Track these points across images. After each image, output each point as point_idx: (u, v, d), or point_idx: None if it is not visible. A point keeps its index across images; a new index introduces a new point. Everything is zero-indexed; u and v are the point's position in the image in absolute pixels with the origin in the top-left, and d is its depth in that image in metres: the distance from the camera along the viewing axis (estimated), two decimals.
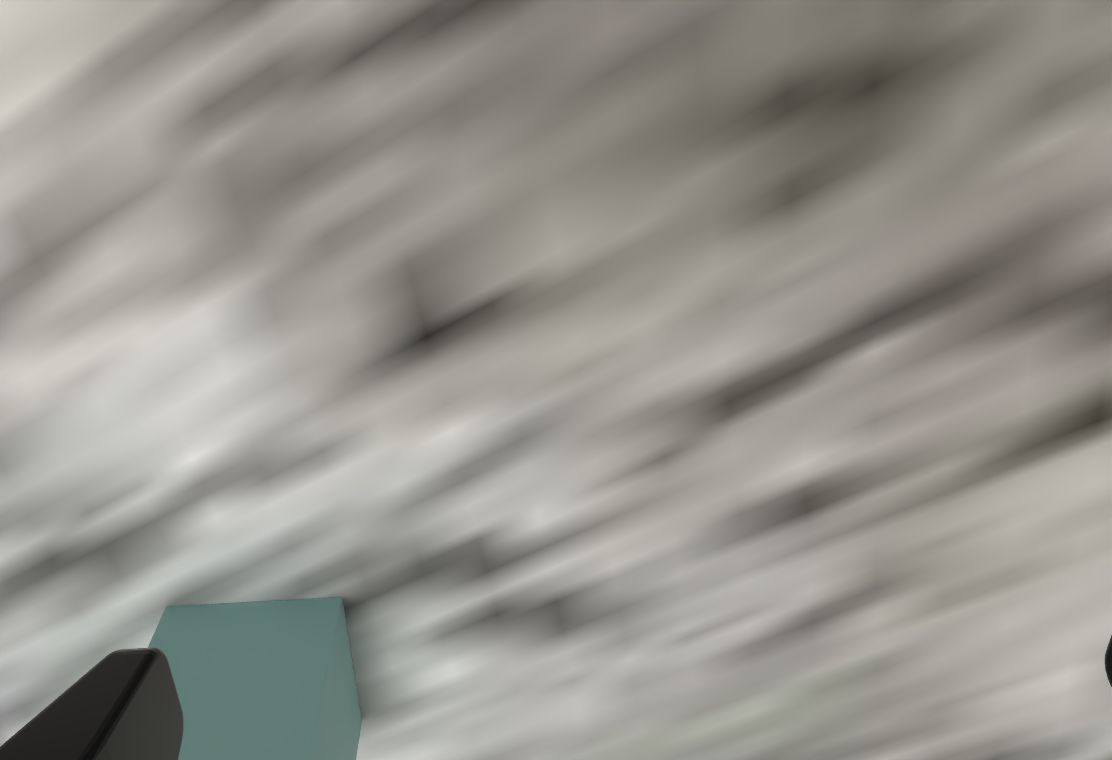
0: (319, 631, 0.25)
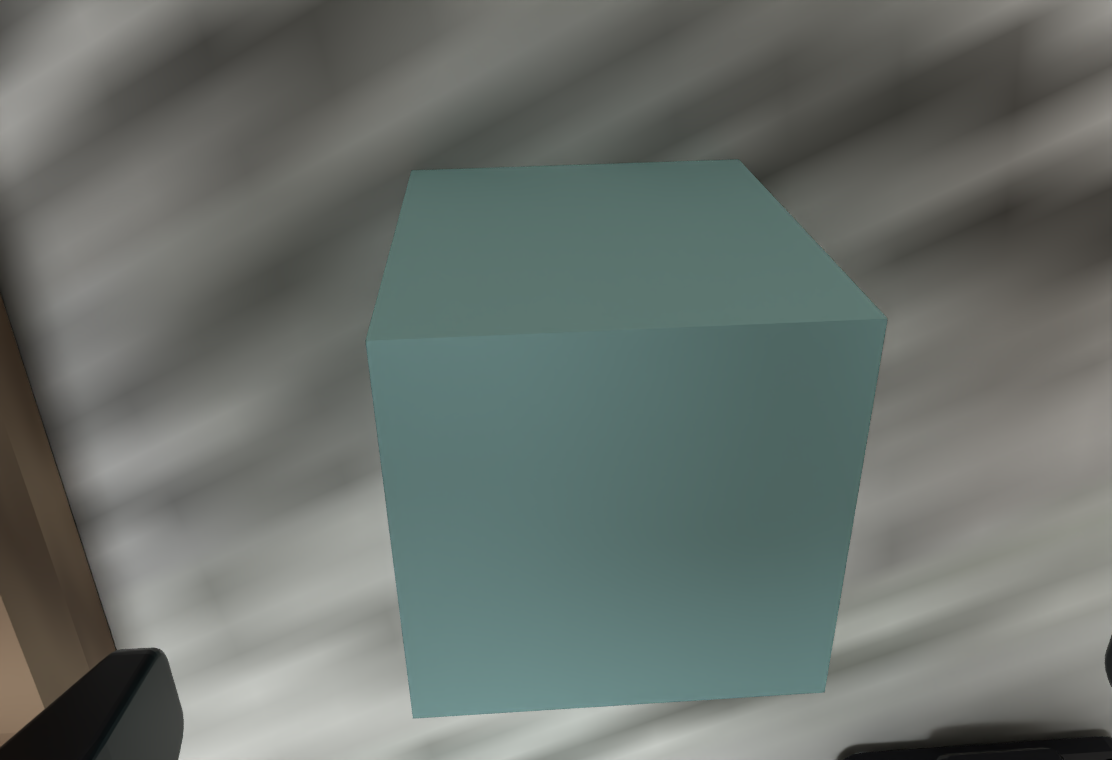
0: (732, 186, 0.13)
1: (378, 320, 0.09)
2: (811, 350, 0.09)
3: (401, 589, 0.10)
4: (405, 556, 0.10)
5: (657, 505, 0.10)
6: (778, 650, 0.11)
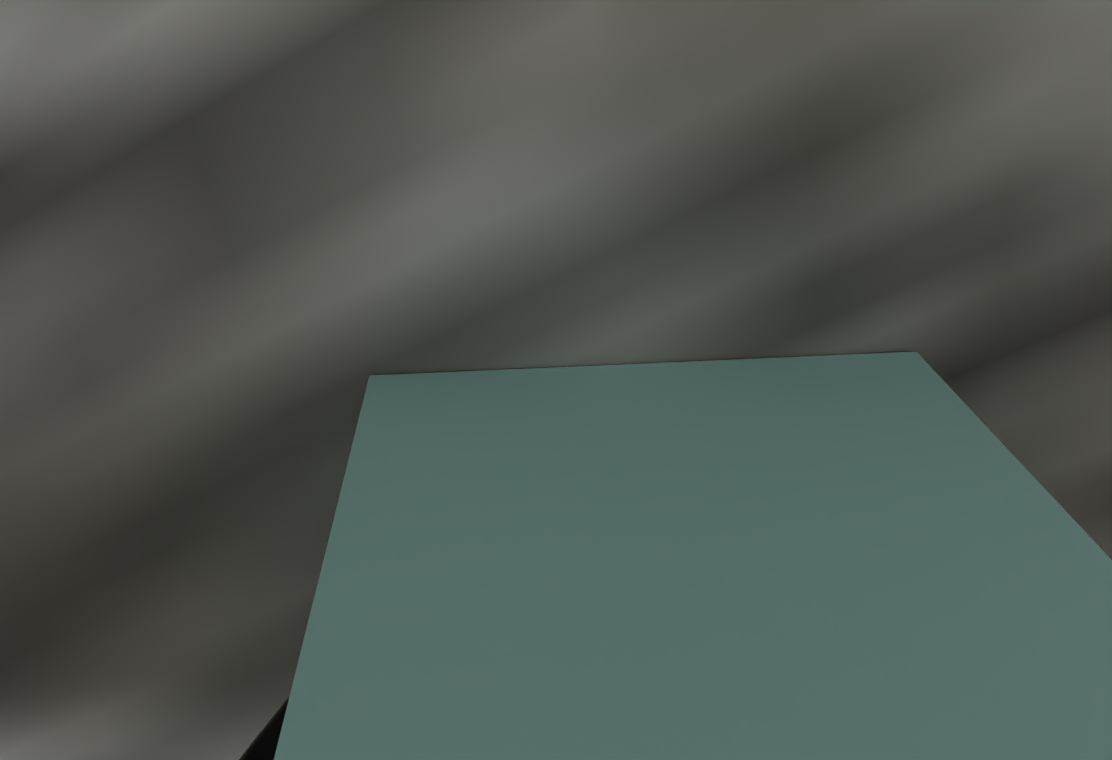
0: (937, 433, 0.07)
1: None
2: None
3: None
4: None
5: None
6: None
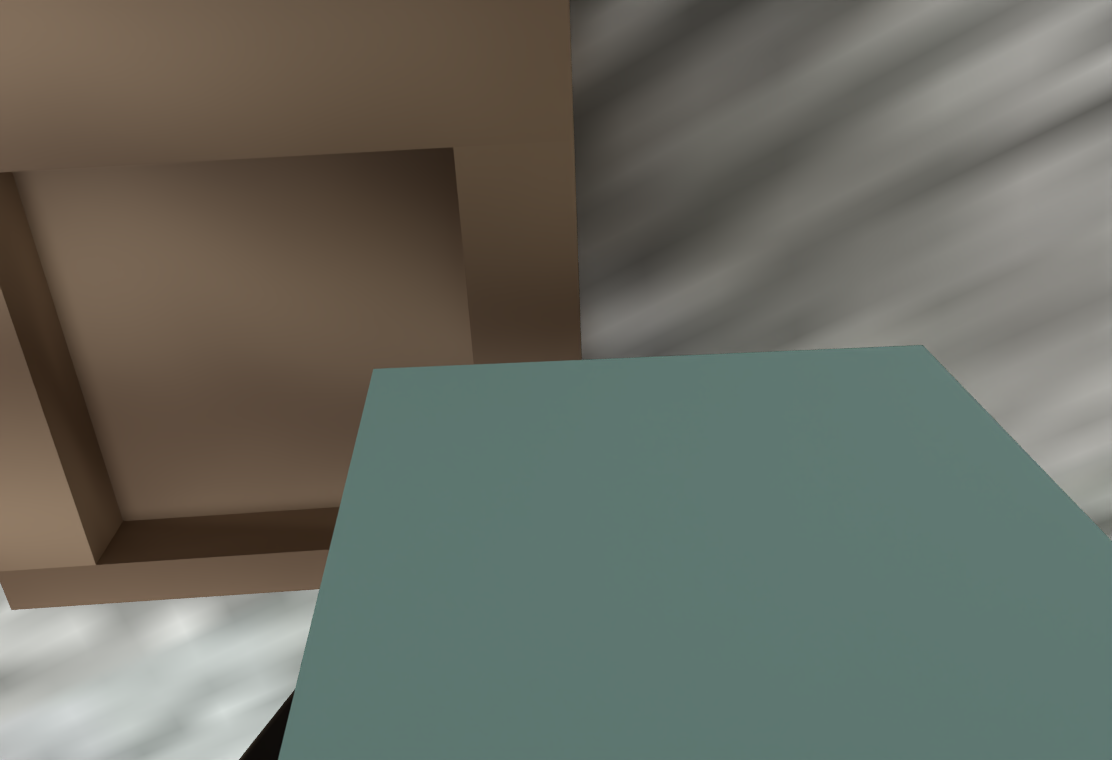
0: (945, 426, 0.07)
1: None
2: None
3: None
4: None
5: None
6: None
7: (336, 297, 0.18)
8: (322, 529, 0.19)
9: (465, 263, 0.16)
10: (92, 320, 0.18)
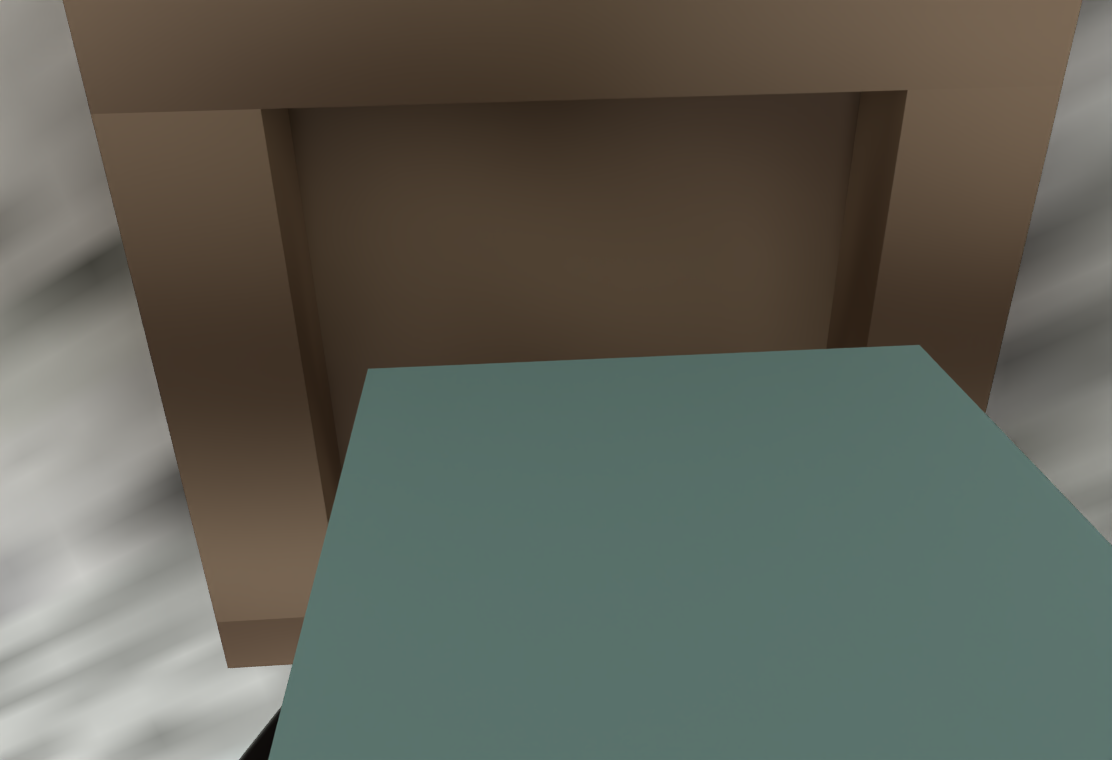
0: (941, 426, 0.07)
1: None
2: None
3: None
4: None
5: None
6: None
7: (668, 285, 0.14)
8: None
9: (884, 244, 0.12)
10: (359, 307, 0.14)
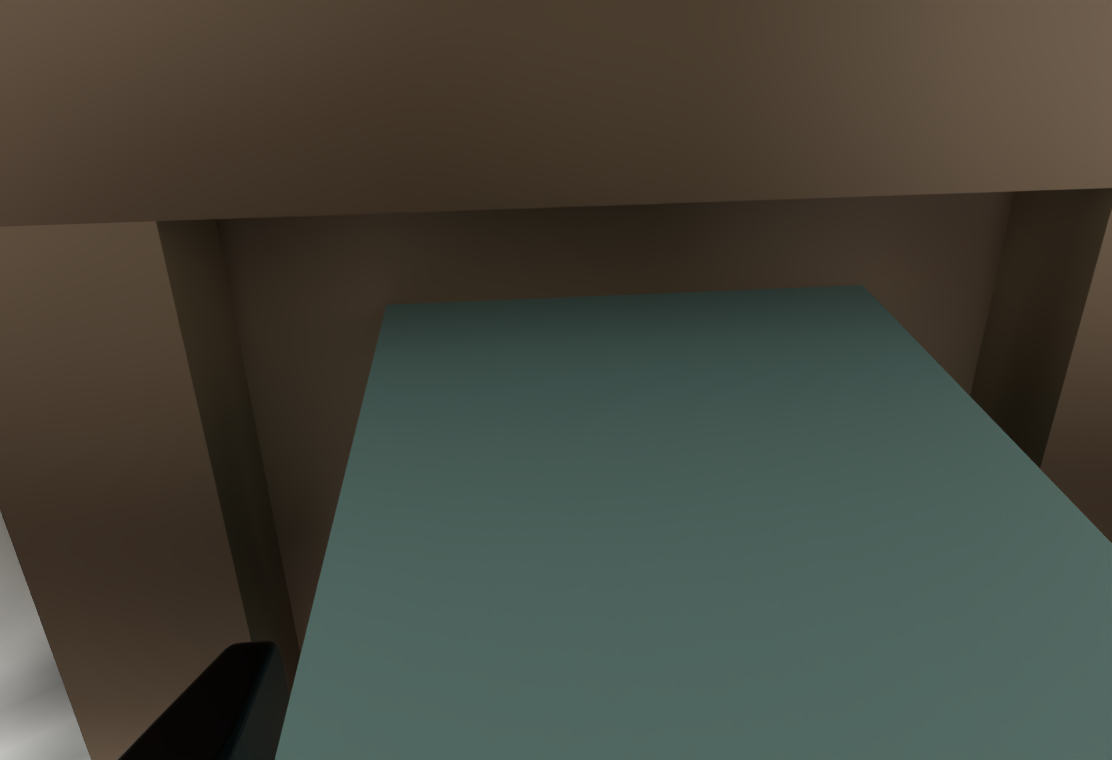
0: (872, 344, 0.08)
1: (293, 744, 0.05)
2: None
3: None
4: None
5: None
6: None
7: None
8: None
9: (1061, 397, 0.09)
10: (319, 460, 0.10)
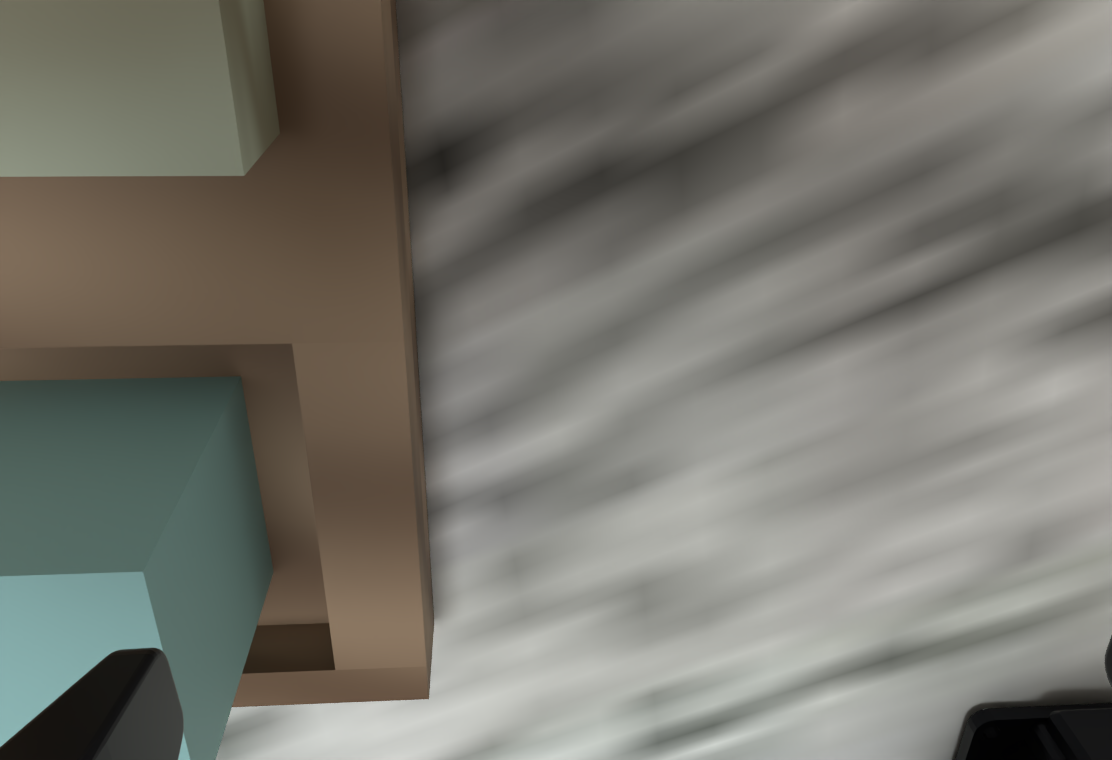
0: (199, 412, 0.17)
1: None
2: (95, 589, 0.13)
3: None
4: None
5: (24, 682, 0.14)
6: None
7: None
8: None
9: (305, 439, 0.17)
10: None
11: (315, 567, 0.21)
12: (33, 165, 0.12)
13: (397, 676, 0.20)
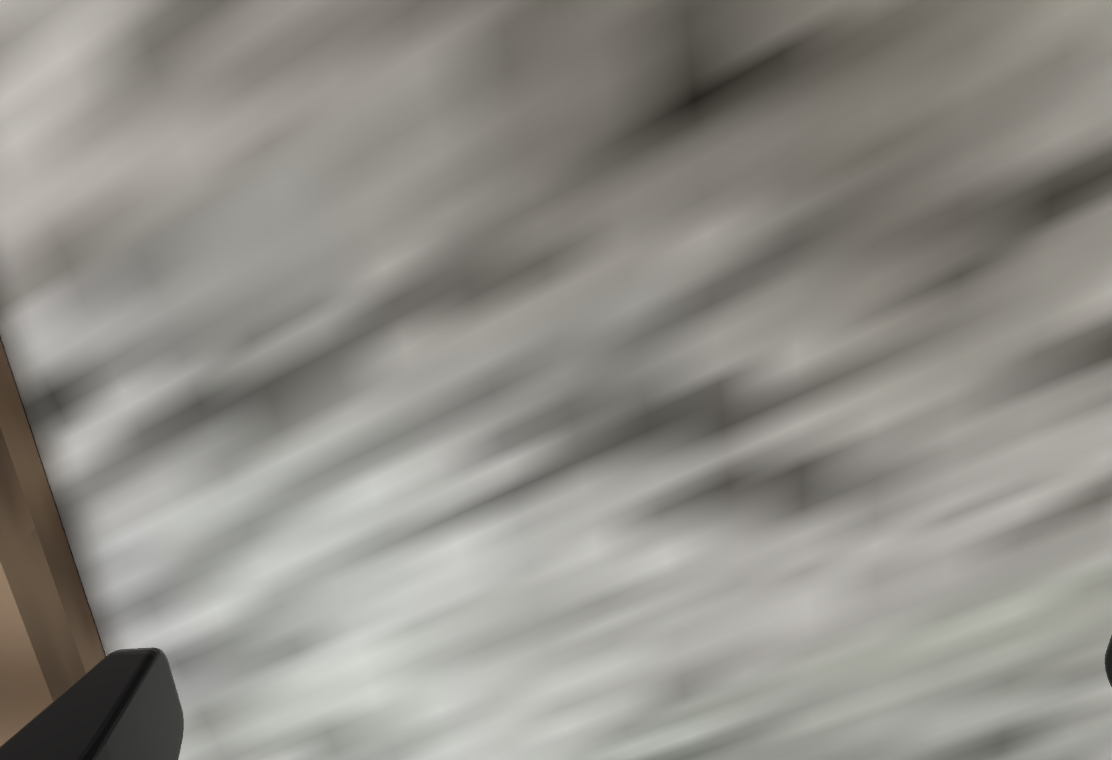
0: None
1: None
2: None
3: None
4: None
5: None
6: None
7: None
8: None
9: None
10: None
11: None
12: None
13: None
